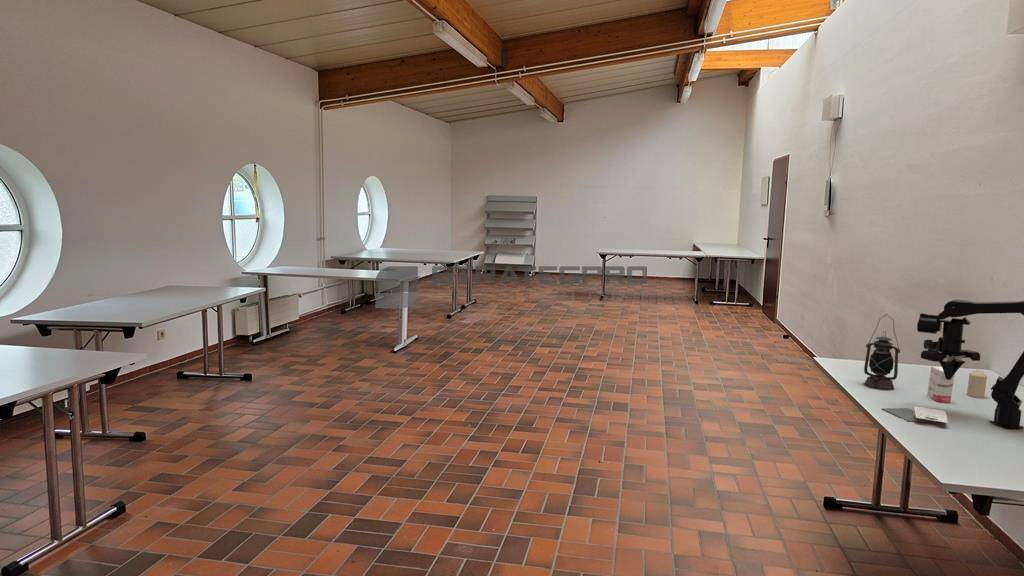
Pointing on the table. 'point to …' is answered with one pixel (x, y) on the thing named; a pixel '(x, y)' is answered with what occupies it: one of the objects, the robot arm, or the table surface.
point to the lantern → (881, 363)
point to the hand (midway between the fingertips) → (948, 379)
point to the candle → (977, 384)
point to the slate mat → (905, 414)
